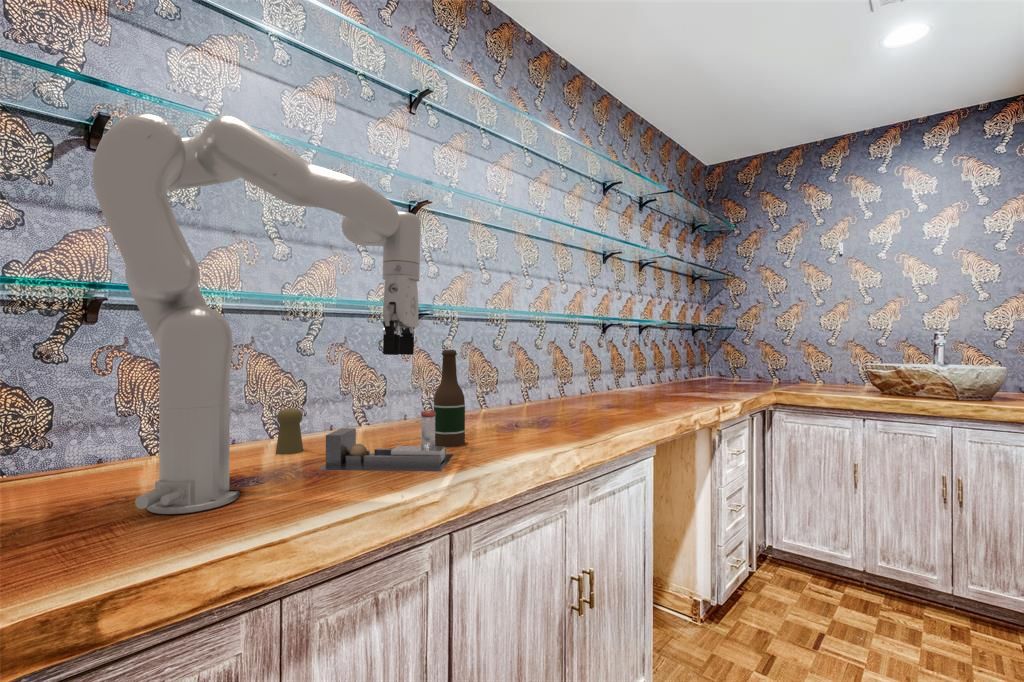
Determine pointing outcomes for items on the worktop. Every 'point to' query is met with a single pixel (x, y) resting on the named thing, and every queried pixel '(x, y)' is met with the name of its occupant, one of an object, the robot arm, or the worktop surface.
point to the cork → (289, 432)
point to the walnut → (358, 450)
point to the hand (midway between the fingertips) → (399, 354)
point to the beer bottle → (449, 405)
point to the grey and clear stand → (423, 440)
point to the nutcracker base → (373, 457)
